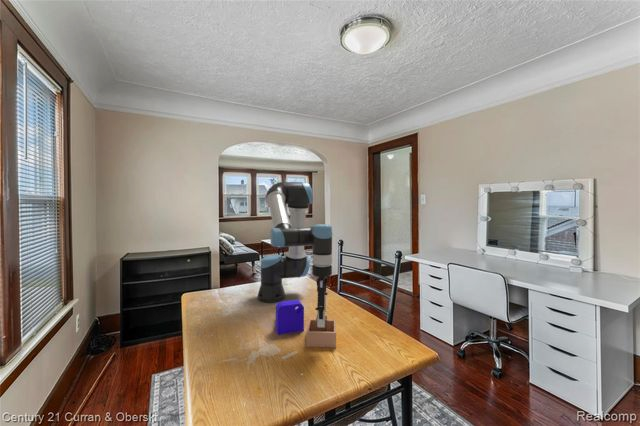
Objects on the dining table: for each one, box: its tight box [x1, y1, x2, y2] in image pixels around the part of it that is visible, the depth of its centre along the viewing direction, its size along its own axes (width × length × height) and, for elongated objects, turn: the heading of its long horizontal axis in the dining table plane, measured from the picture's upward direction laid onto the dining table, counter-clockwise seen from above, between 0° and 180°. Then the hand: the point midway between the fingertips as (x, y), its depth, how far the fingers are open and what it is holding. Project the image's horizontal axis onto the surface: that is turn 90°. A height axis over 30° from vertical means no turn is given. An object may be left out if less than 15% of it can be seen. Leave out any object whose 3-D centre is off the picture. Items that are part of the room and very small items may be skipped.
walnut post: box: [316, 315, 328, 332], centre depth 105 cm, size 4×4×8 cm
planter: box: [305, 318, 337, 349], centre depth 105 cm, size 11×11×6 cm
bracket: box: [275, 299, 305, 336], centre depth 119 cm, size 18×11×12 cm, turn 19°
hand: (321, 318), depth 105 cm, fingers open, 13 cm apart
